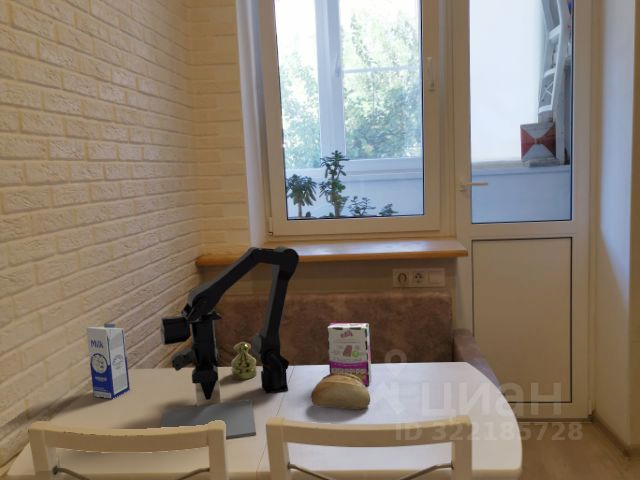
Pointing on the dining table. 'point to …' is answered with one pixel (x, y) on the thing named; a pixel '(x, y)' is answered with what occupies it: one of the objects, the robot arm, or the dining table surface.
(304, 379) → the dining table surface
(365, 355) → the candy bar box
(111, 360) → the milk carton
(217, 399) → the tile
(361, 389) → the bread roll
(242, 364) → the olive tall rounded piece
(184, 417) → the mat
